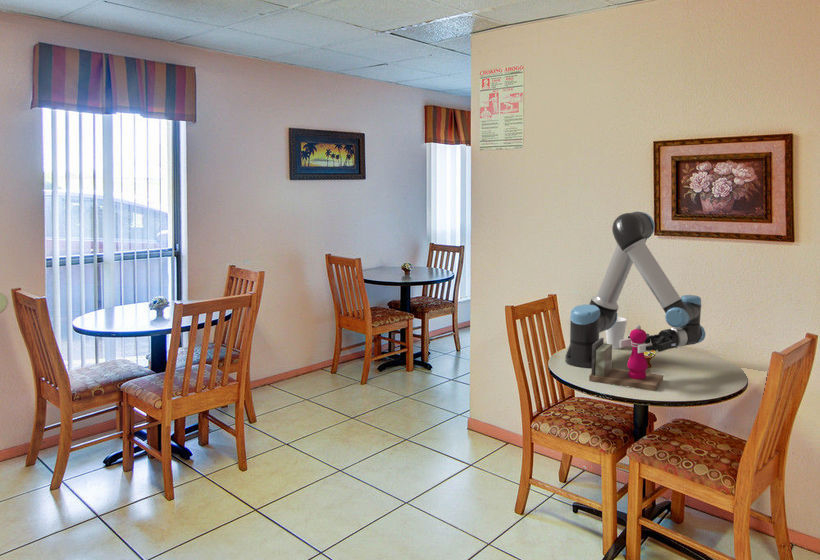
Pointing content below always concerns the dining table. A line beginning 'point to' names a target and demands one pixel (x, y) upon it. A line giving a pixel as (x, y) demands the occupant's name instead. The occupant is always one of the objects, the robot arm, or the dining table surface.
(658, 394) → the dining table surface
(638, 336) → the pepper mill
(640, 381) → the wooden bookend
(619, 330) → the foam cup
